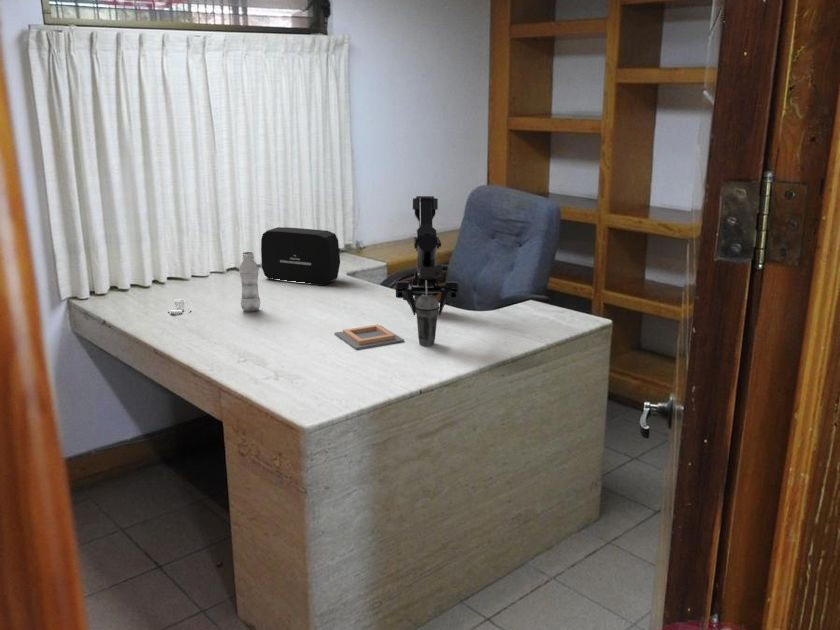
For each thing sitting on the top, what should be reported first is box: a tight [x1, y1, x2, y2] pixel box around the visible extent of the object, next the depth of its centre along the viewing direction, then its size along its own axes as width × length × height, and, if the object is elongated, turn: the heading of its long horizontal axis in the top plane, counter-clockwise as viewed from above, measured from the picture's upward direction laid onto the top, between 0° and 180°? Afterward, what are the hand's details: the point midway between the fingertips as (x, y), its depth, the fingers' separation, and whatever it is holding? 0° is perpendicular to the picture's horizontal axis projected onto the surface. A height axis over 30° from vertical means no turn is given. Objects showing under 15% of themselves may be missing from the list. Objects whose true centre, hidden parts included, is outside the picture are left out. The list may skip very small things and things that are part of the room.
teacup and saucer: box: [171, 298, 185, 315], centre depth 263 cm, size 9×8×4 cm
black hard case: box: [260, 226, 341, 286], centre depth 303 cm, size 30×12×20 cm, turn 69°
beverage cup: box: [415, 280, 440, 347], centre depth 230 cm, size 7×7×20 cm
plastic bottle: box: [238, 251, 261, 312], centre depth 262 cm, size 6×7×20 cm
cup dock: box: [334, 324, 405, 351], centre depth 237 cm, size 16×16×2 cm
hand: (427, 314), depth 229 cm, fingers closed on beverage cup, 7 cm apart
